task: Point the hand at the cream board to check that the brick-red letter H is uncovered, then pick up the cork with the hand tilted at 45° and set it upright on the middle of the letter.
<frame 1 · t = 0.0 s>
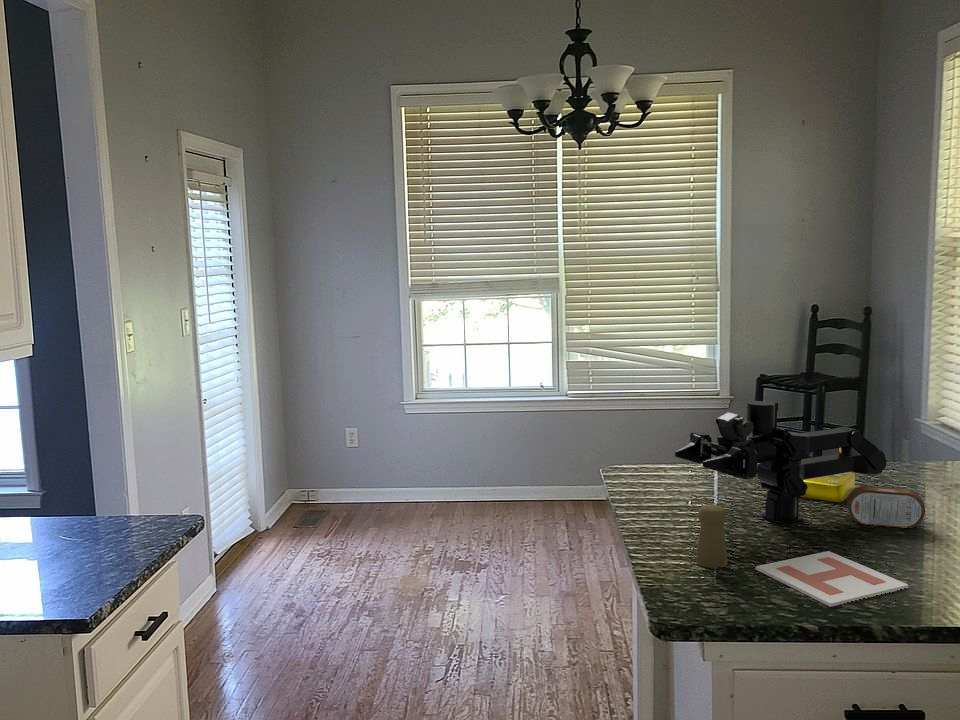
hand: (688, 459, 170), 17 cm above the counter, tool horizontal, fingers open, 9 cm apart
tin: (884, 527, 176), on the counter
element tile: (816, 492, 202), on the counter
cork: (711, 563, 158), on the counter
letter board: (829, 578, 149), on the counter
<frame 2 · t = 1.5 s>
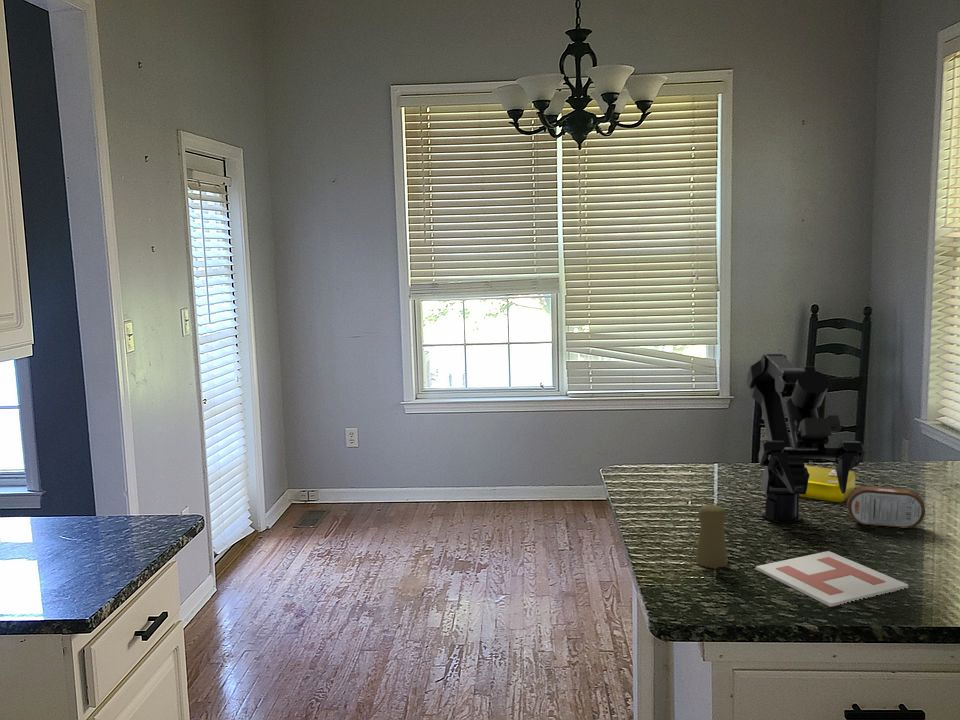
hand: (818, 492, 155), 14 cm above the counter, tool tilted 45°, fingers open, 9 cm apart
nothing on the counter moved.
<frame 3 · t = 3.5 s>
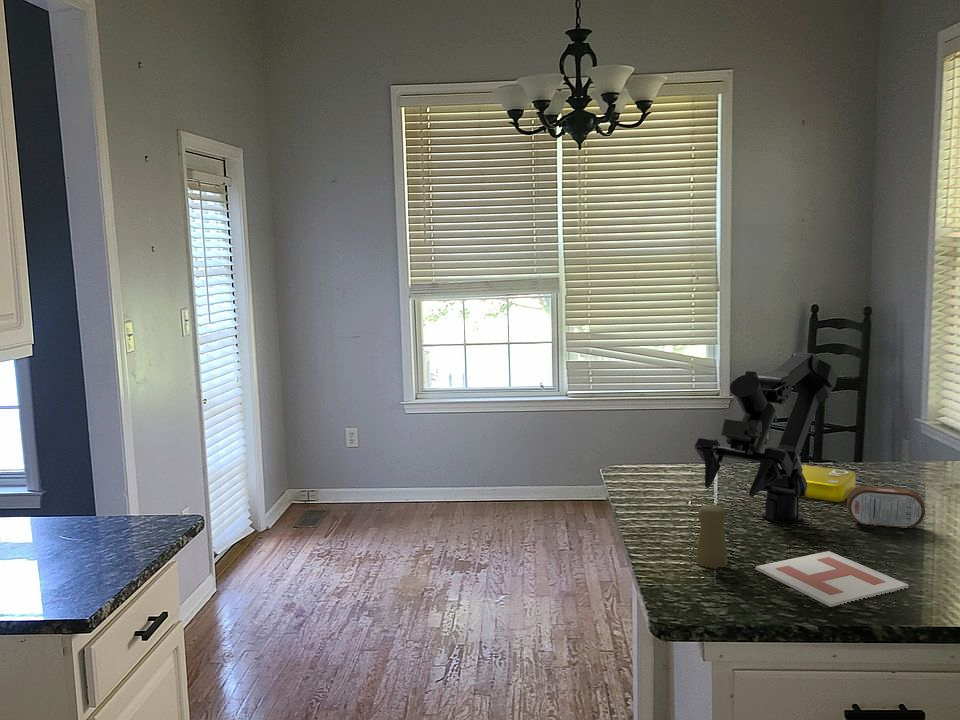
hand: (728, 491, 161), 12 cm above the counter, tool tilted 45°, fingers open, 9 cm apart
nothing on the counter moved.
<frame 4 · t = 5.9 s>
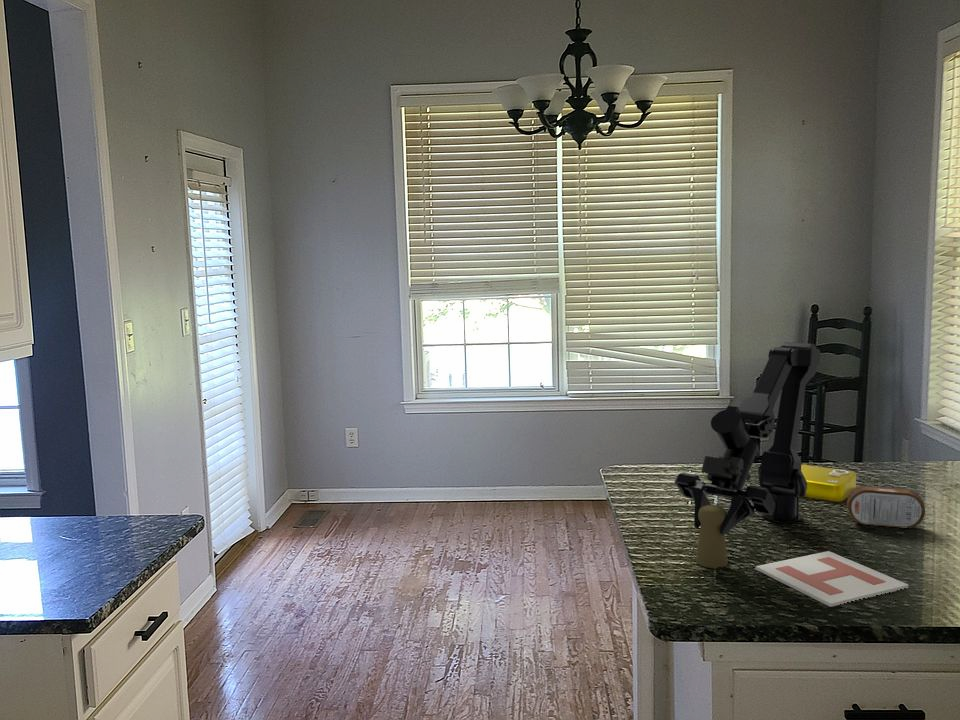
hand: (708, 530, 156), 7 cm above the counter, tool tilted 45°, fingers closed on cork, 5 cm apart
cork: (711, 562, 158), on the counter, touching gripper
everything else where it was.
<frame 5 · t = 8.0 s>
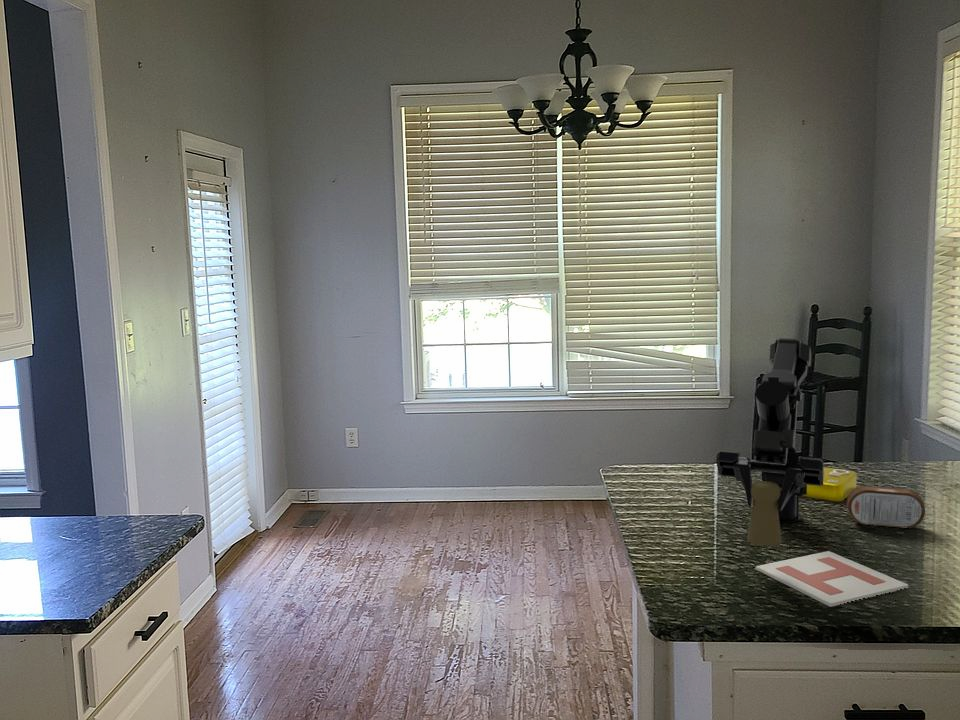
hand: (764, 508, 149), 13 cm above the counter, tool tilted 45°, fingers closed on cork, 5 cm apart
cork: (764, 541, 152), point 6 cm above the counter, touching gripper
everything else where it was.
when the fingers open (8 cm above the counter, at t = 10.6 s): cork drops 1 cm, resting on letter board.
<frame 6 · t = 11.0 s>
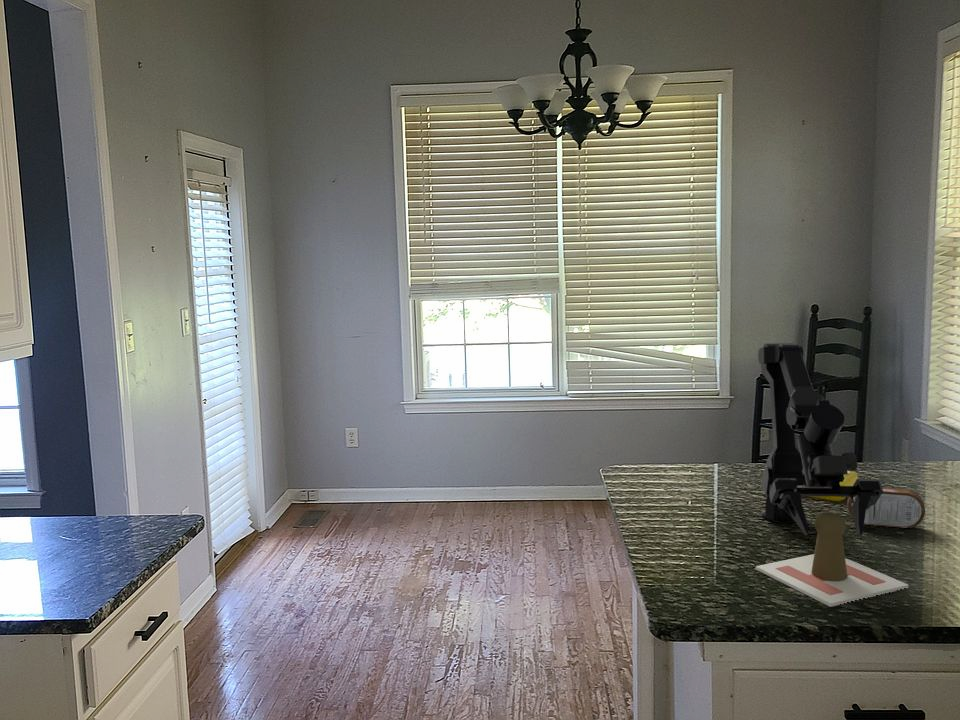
hand: (833, 534, 146), 9 cm above the counter, tool tilted 45°, fingers open, 9 cm apart
cork: (829, 575, 149), point 1 cm above the counter, touching letter board
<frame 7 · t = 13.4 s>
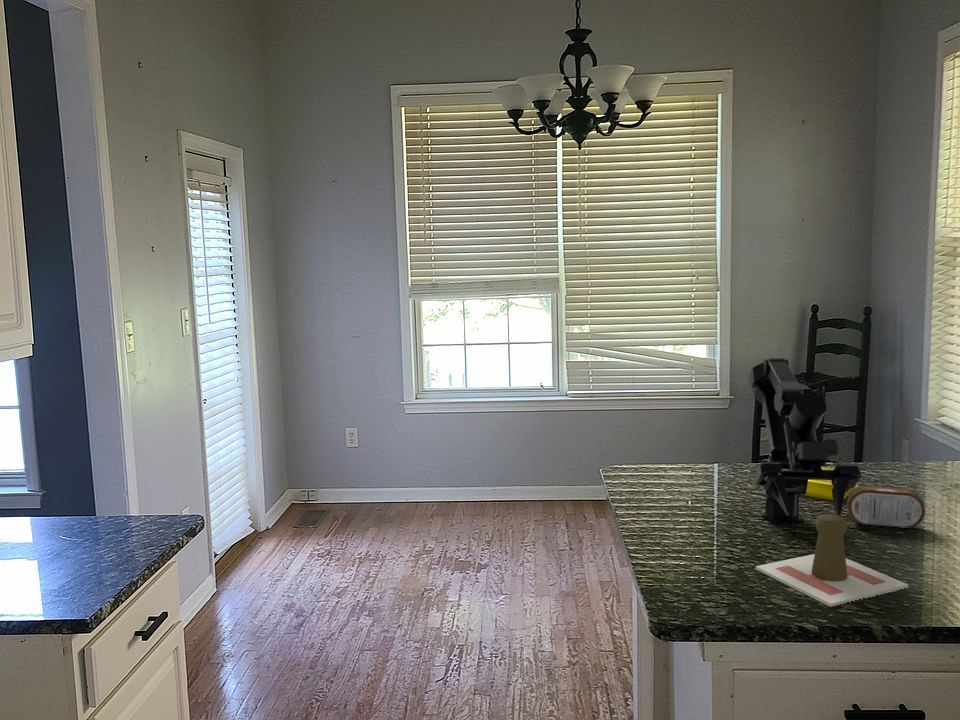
hand: (813, 515, 156), 9 cm above the counter, tool tilted 40°, fingers open, 9 cm apart
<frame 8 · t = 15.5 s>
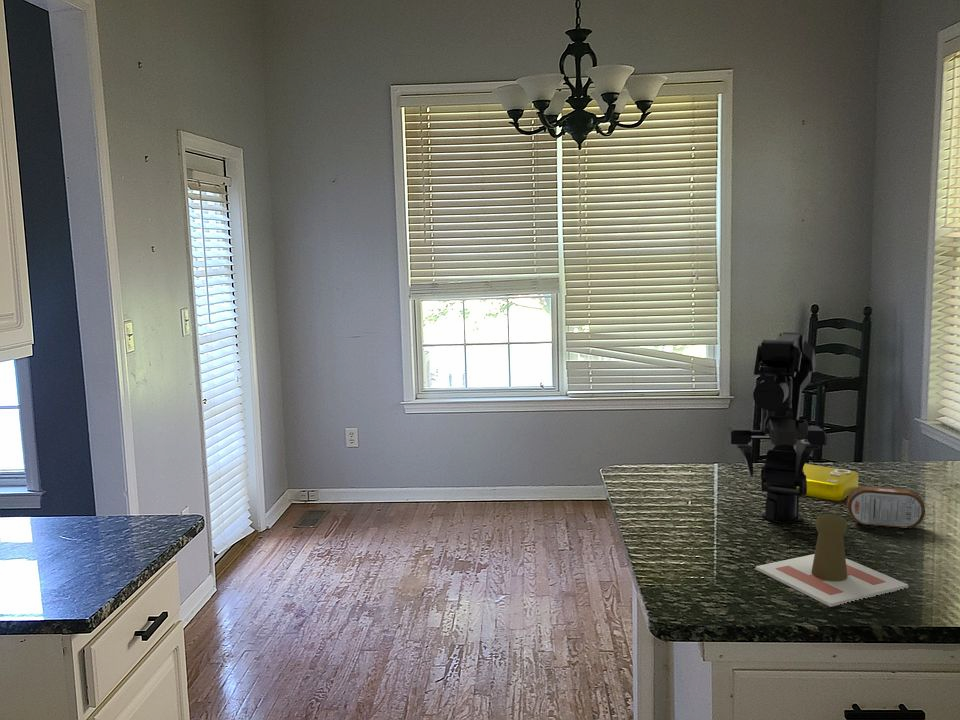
hand: (774, 476, 169), 13 cm above the counter, tool pointing down, fingers open, 9 cm apart
at the end: cork 0.1 cm off-centre on the letter board, point 0.5 cm above the letter board's base; cork tilted 0°; the gripper is holding nothing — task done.
